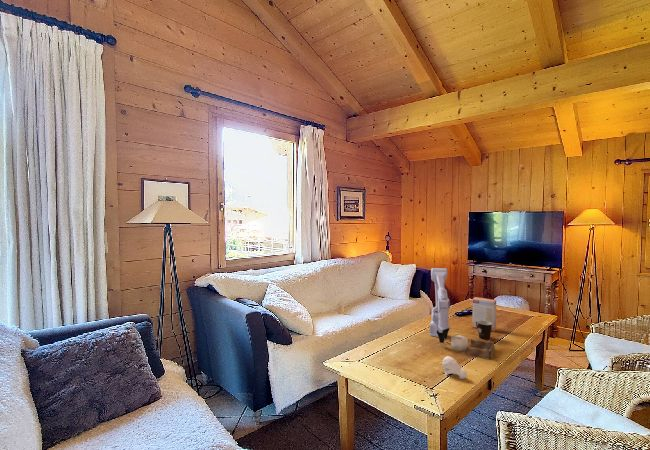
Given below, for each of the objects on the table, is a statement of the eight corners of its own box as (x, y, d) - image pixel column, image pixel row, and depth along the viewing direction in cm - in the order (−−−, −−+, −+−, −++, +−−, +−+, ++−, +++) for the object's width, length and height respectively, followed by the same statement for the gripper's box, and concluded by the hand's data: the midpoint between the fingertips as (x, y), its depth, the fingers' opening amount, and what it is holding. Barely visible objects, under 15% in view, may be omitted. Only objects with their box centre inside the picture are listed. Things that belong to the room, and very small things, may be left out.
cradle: (466, 354, 191) (466, 345, 190) (470, 345, 203) (471, 337, 203) (491, 359, 184) (491, 350, 183) (494, 349, 197) (494, 341, 196)
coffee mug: (493, 341, 210) (493, 325, 209) (478, 340, 211) (479, 324, 211) (488, 334, 221) (488, 319, 221) (474, 333, 223) (474, 318, 222)
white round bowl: (449, 348, 198) (449, 338, 198) (453, 343, 206) (453, 334, 206) (465, 352, 194) (466, 341, 193) (468, 346, 201) (468, 337, 201)
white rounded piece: (447, 353, 172) (470, 363, 163) (446, 368, 173) (468, 379, 164) (441, 356, 168) (464, 367, 159) (439, 372, 169) (462, 384, 160)
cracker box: (496, 329, 229) (496, 299, 228) (493, 332, 225) (494, 301, 224) (474, 325, 239) (475, 296, 238) (472, 327, 234) (472, 298, 233)
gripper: (447, 323, 196) (447, 346, 197) (452, 316, 208) (452, 338, 209) (435, 321, 200) (435, 343, 200) (441, 314, 212) (441, 335, 212)
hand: (443, 340), depth 205 cm, fingers open, 7 cm apart
